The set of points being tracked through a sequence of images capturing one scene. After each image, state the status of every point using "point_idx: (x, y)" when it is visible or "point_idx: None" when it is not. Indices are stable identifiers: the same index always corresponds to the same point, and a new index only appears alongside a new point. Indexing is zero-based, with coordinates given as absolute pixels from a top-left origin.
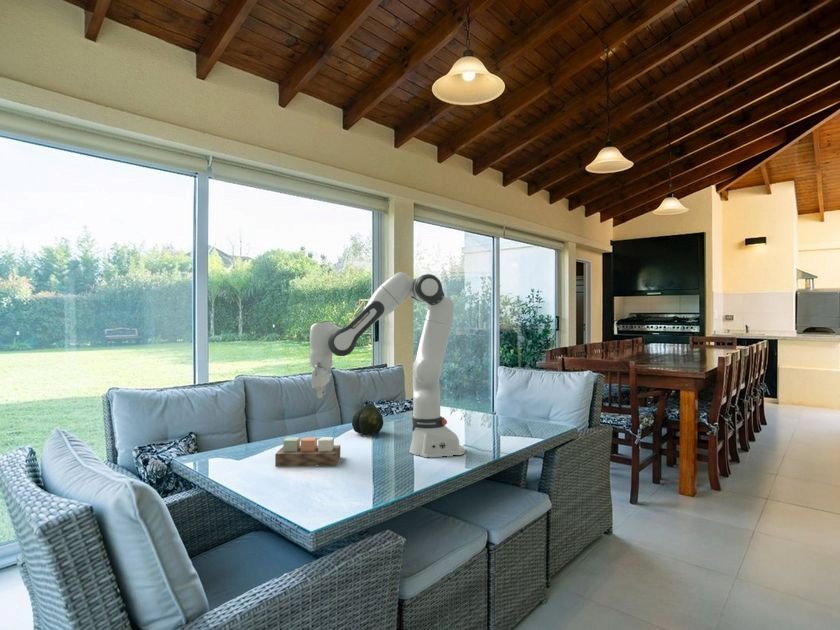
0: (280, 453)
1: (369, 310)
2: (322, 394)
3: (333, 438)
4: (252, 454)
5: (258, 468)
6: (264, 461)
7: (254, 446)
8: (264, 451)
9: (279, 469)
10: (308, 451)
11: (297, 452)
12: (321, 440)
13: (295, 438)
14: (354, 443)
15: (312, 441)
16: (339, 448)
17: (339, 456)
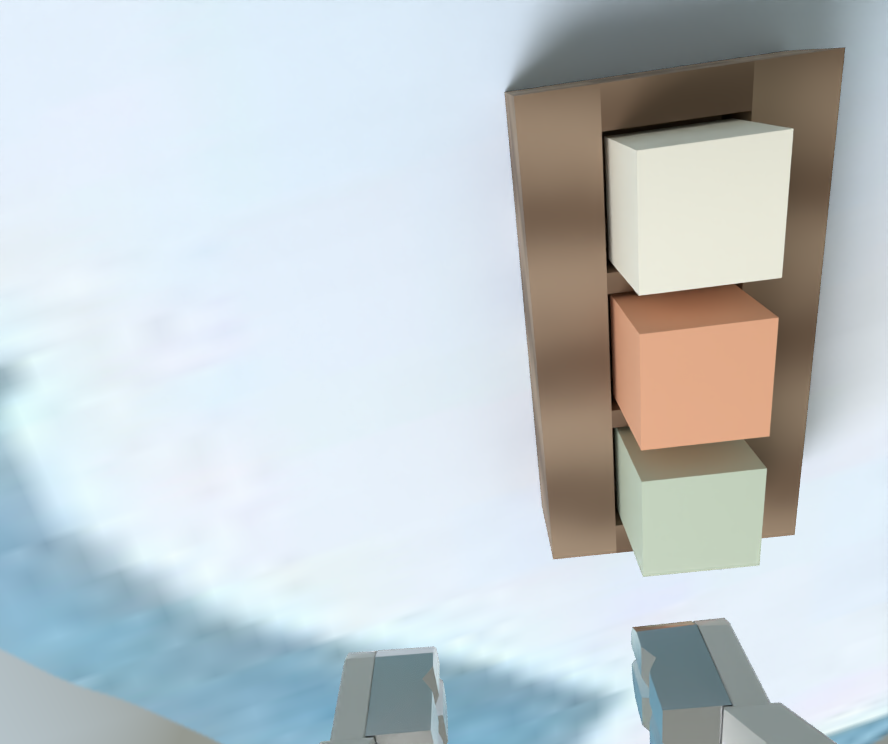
0: (786, 507)
1: None
2: (651, 675)
3: (660, 146)
4: (491, 681)
5: (794, 553)
6: (642, 575)
7: (315, 731)
8: None
9: (831, 435)
10: None
11: None
12: (784, 244)
13: (685, 502)
14: (13, 91)
15: (771, 330)
16: (575, 86)
17: (564, 84)
